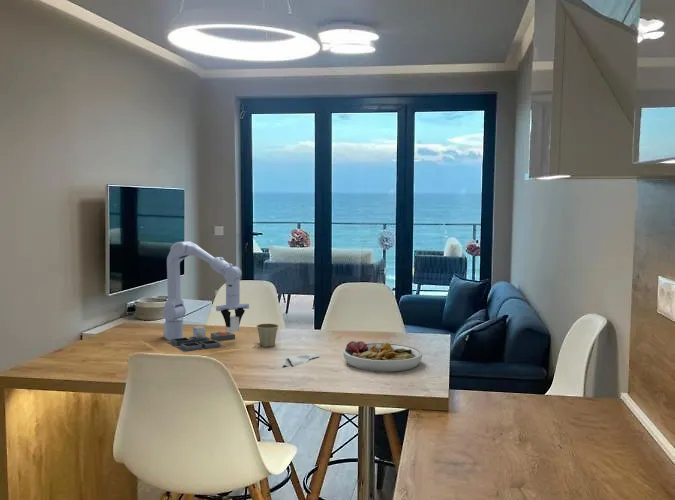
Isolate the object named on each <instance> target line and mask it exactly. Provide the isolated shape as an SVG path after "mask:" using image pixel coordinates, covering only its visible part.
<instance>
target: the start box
mask: <svg viewBox="0 0 675 500" xmlns="http://www.w3.org/2000/svg"><path fill="white" fill-rule="evenodd" d="M226 331H227V330H226ZM210 339H211V340H215V341H217V342H222V341H223V342H224V341H229V340H236V334H235V333H232V332H230V331H227V335H218V332H210Z"/></svg>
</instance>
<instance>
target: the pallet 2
mask: <svg viewBox="0 0 675 500" xmlns="http://www.w3.org/2000/svg"><path fill="white" fill-rule="evenodd" d="M225 347H226V346H225V345H224V344H223V345H222V344H221V342H220V341H217V340H215V339H210V340H209V341H201V342H199V343H197V342H192V343H184V344H181V346H177V347H175V349H178V350H179V351H180V352H183V353H187V352H195V351H204V350H211V349H218V348H225Z"/></svg>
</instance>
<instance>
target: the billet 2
mask: <svg viewBox="0 0 675 500" xmlns="http://www.w3.org/2000/svg"><path fill="white" fill-rule="evenodd" d="M225 327H226V326H225ZM225 331H228V332H230V333H232V332H240V325H239V317H238V316H235V315H230V326H229V327H226V330H225Z"/></svg>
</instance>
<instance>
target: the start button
mask: <svg viewBox="0 0 675 500" xmlns="http://www.w3.org/2000/svg"><path fill="white" fill-rule="evenodd" d="M218 335H227V330H219V331H218Z"/></svg>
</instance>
